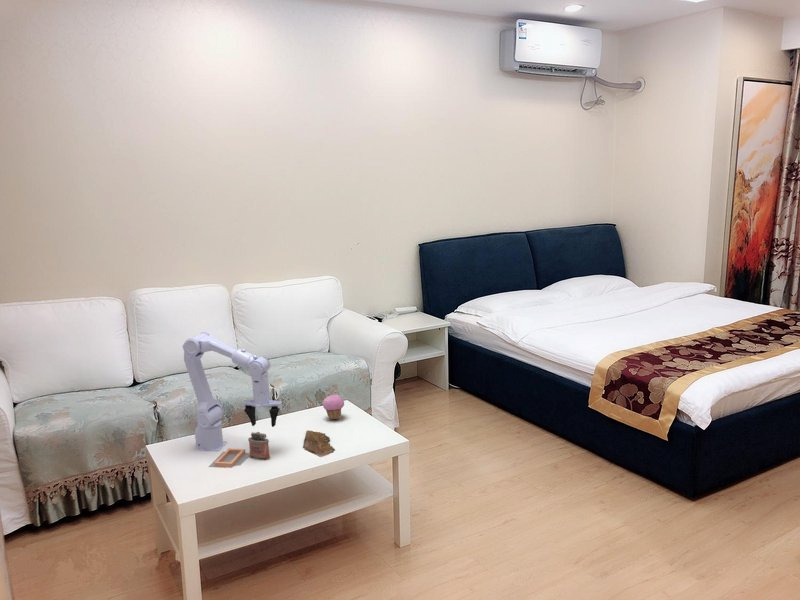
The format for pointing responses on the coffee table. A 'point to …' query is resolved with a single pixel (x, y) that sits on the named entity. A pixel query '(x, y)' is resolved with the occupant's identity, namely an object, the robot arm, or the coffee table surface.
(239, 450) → the holder
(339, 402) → the cupcake
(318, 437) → the wooden fragment
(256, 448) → the lighter
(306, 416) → the coffee table surface
